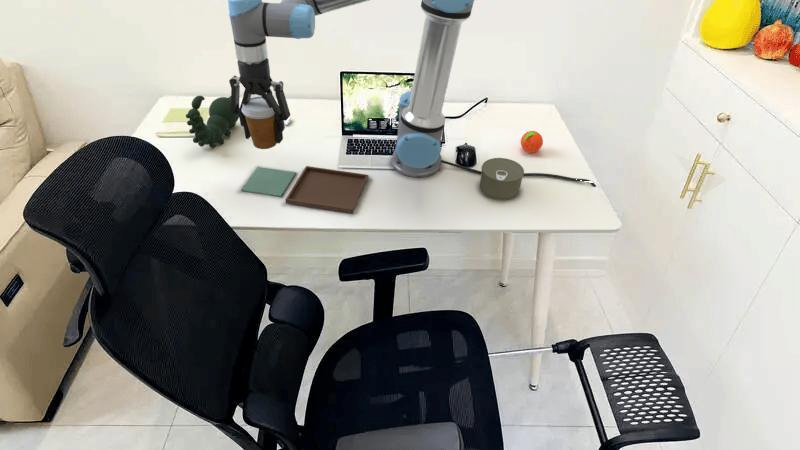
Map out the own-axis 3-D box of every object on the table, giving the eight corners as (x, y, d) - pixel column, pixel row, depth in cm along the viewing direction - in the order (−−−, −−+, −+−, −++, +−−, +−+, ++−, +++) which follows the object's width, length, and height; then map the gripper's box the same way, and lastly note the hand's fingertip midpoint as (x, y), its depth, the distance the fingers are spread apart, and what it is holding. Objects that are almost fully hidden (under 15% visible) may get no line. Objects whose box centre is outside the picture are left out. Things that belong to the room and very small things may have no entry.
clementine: (527, 160, 170) (532, 140, 165) (512, 150, 174) (515, 131, 170) (545, 152, 174) (549, 133, 169) (529, 143, 178) (533, 124, 173)
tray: (368, 178, 160) (368, 174, 159) (352, 214, 147) (352, 209, 146) (306, 170, 162) (306, 165, 161) (285, 203, 149) (285, 199, 148)
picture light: (282, 112, 189) (281, 106, 188) (294, 113, 189) (294, 108, 188) (270, 132, 179) (269, 126, 177) (282, 133, 178) (282, 127, 177)
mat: (296, 173, 161) (295, 172, 160) (281, 197, 151) (280, 195, 151) (258, 168, 162) (257, 166, 162) (241, 191, 153) (240, 189, 153)
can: (522, 181, 161) (526, 161, 156) (517, 204, 152) (521, 184, 148) (482, 173, 163) (485, 154, 159) (475, 196, 154) (478, 176, 150)
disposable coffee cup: (245, 136, 151) (239, 97, 143) (280, 132, 153) (275, 93, 145) (249, 154, 144) (242, 114, 136) (285, 150, 146) (280, 110, 138)
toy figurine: (217, 161, 167) (251, 117, 184) (202, 109, 154) (240, 67, 171) (190, 157, 169) (226, 114, 186) (172, 104, 155) (213, 63, 173)
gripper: (298, 57, 134) (305, 137, 149) (219, 48, 137) (234, 127, 152) (287, 69, 129) (296, 151, 143) (205, 59, 131) (222, 140, 146)
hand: (264, 138), depth 147 cm, fingers closed on disposable coffee cup, 8 cm apart
